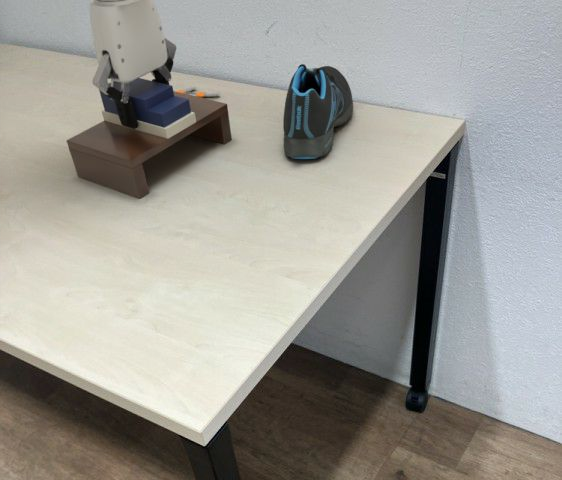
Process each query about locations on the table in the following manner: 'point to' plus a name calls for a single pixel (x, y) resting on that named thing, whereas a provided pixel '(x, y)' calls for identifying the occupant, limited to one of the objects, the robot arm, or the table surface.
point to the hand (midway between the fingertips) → (147, 115)
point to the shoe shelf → (139, 146)
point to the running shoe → (315, 111)
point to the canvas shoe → (153, 108)
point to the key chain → (200, 94)
